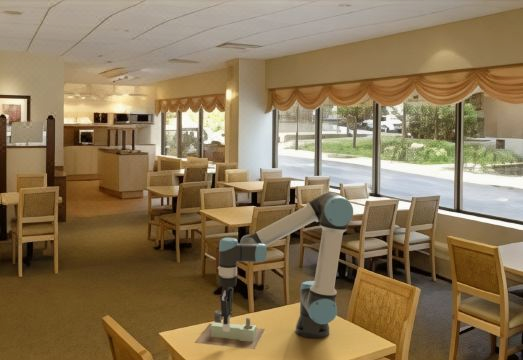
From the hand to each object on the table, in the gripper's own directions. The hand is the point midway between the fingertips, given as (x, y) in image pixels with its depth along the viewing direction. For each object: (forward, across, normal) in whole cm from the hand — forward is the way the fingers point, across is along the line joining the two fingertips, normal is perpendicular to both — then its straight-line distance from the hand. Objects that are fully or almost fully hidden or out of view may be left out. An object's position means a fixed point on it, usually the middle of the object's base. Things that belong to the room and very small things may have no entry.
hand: (226, 330), depth 224 cm
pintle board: (+7, -10, 0) cm, 12 cm away
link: (+6, -9, +1) cm, 11 cm away
